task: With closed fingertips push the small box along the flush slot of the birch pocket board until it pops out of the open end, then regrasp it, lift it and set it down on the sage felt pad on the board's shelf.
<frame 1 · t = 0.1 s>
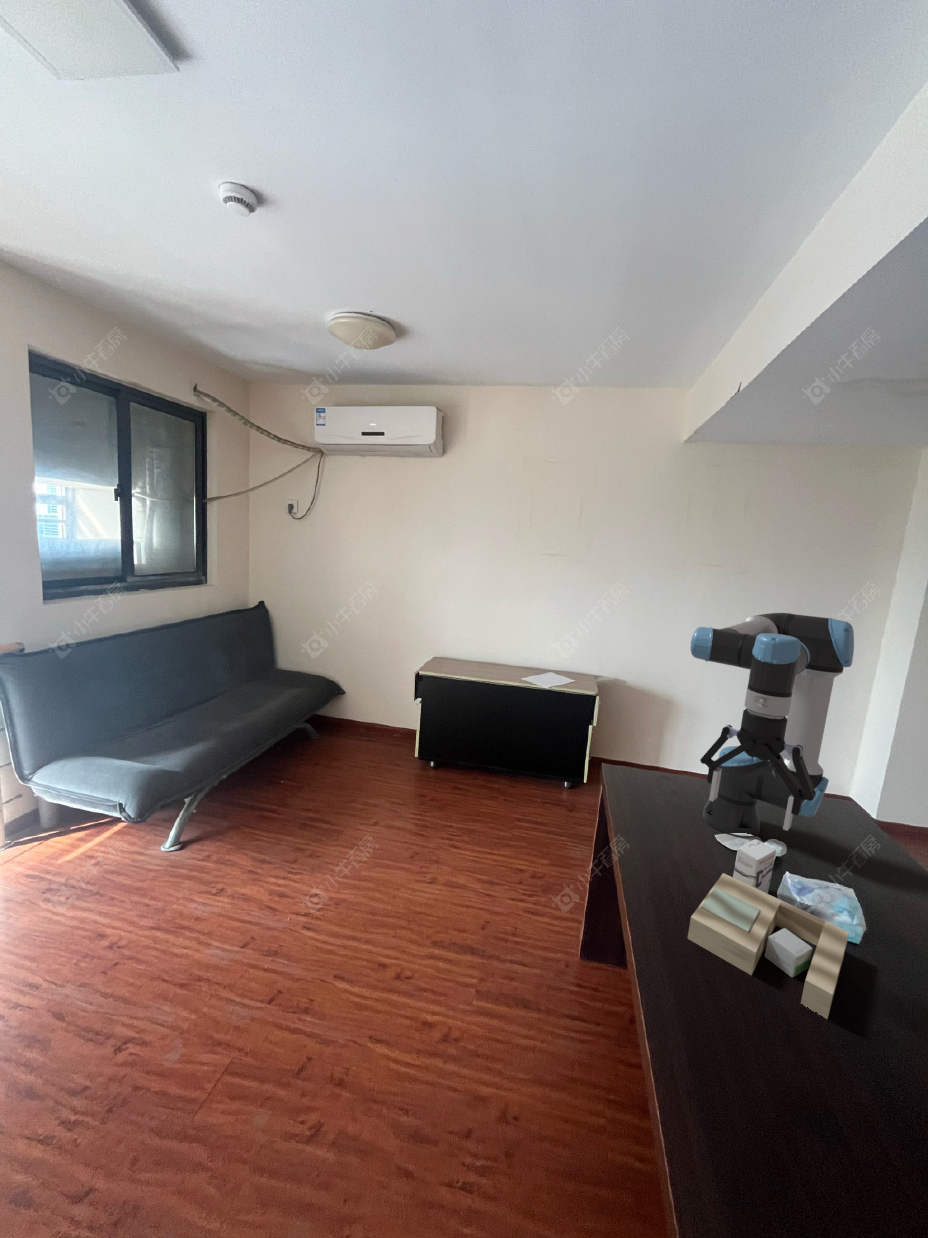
hand: (748, 812, 101), 28 cm above the table, fingers open, 13 cm apart
small box: (785, 963, 99), on the table
ink box: (748, 894, 119), on the table
pocket board: (764, 947, 103), on the table
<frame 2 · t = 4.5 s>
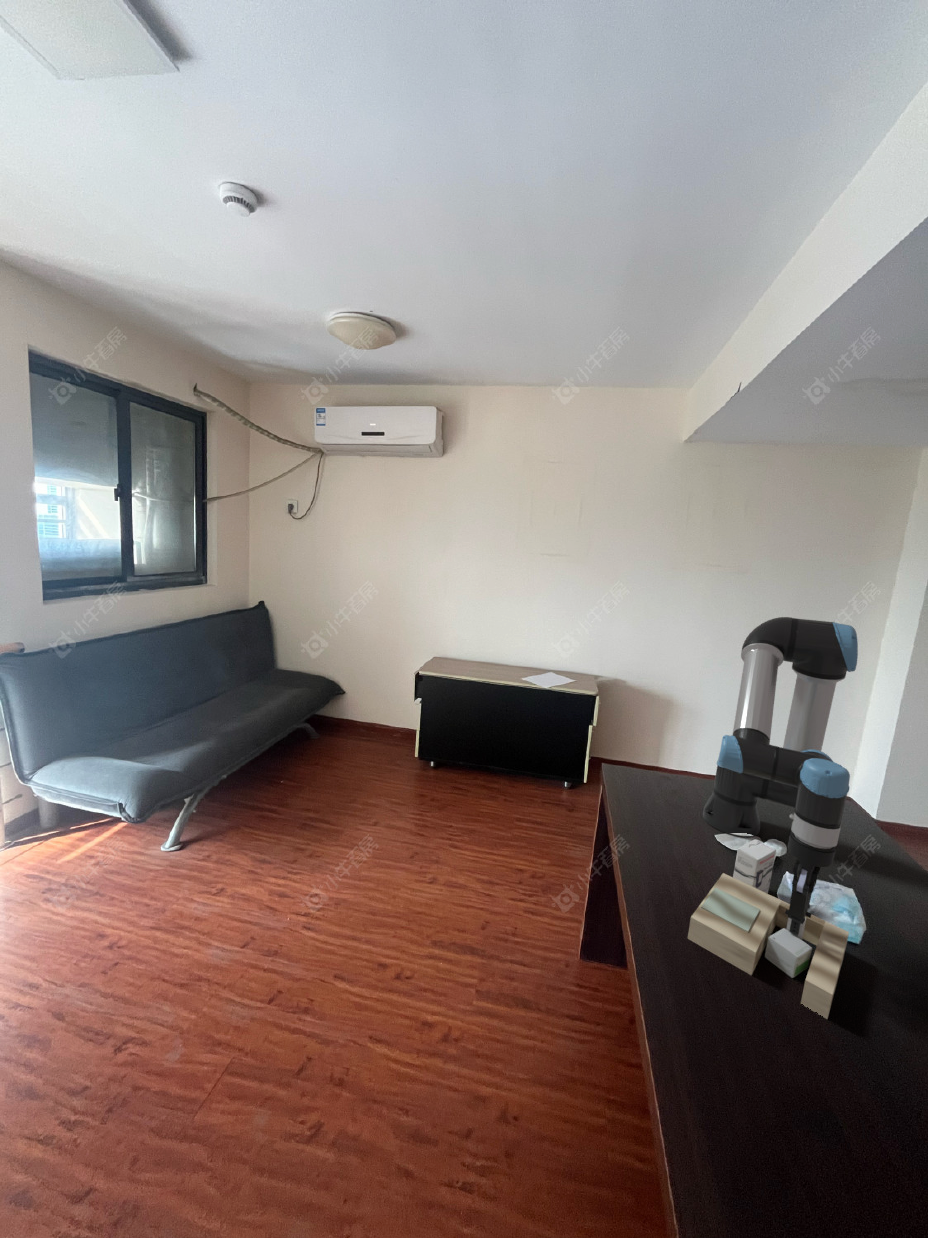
hand: (792, 944, 102), 2 cm above the table, fingers closed
small box: (785, 964, 99), on the table, touching gripper
everything else where it was.
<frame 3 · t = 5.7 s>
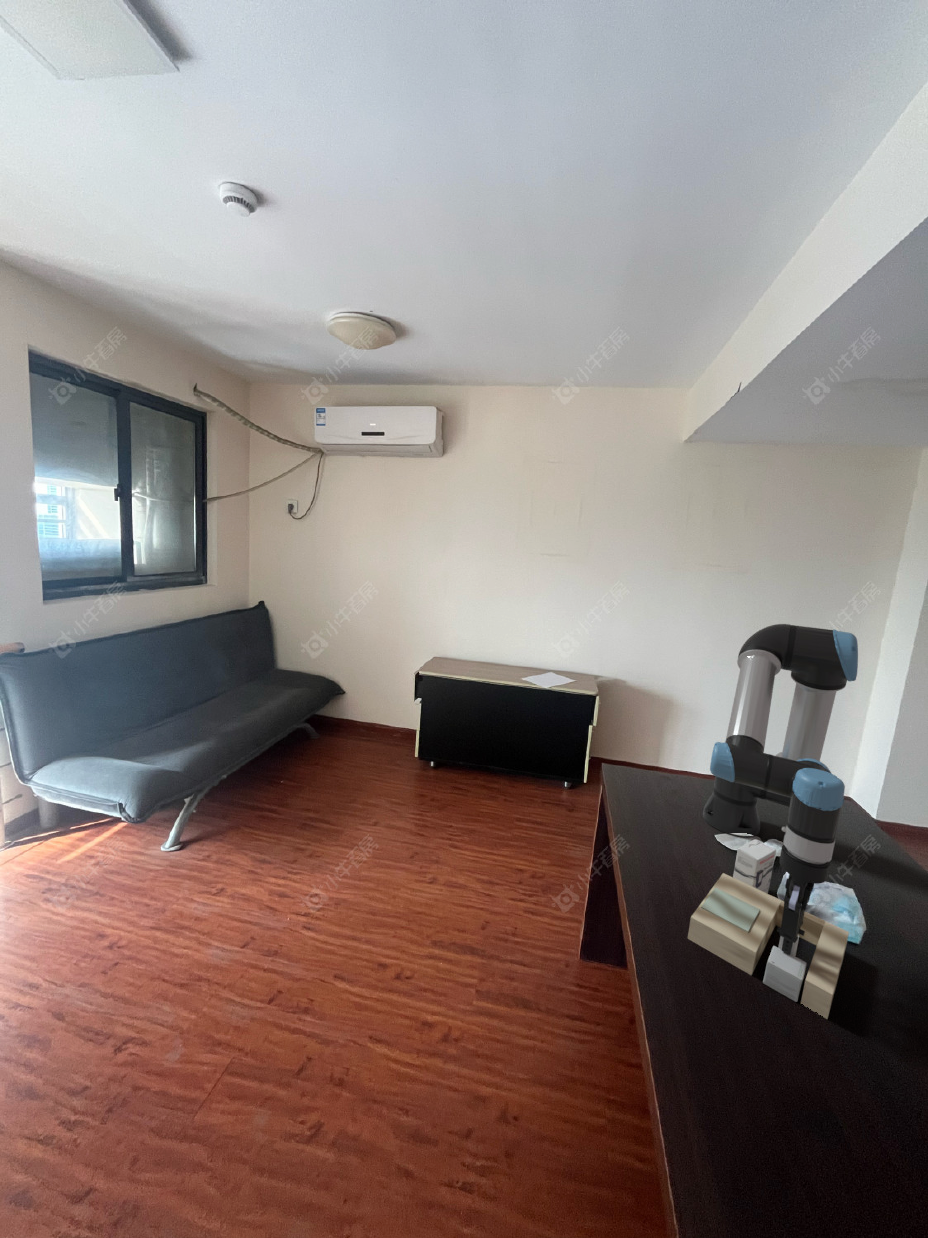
hand: (784, 963, 97), 2 cm above the table, fingers closed
small box: (782, 985, 94), on the table, touching gripper
everything else where it was.
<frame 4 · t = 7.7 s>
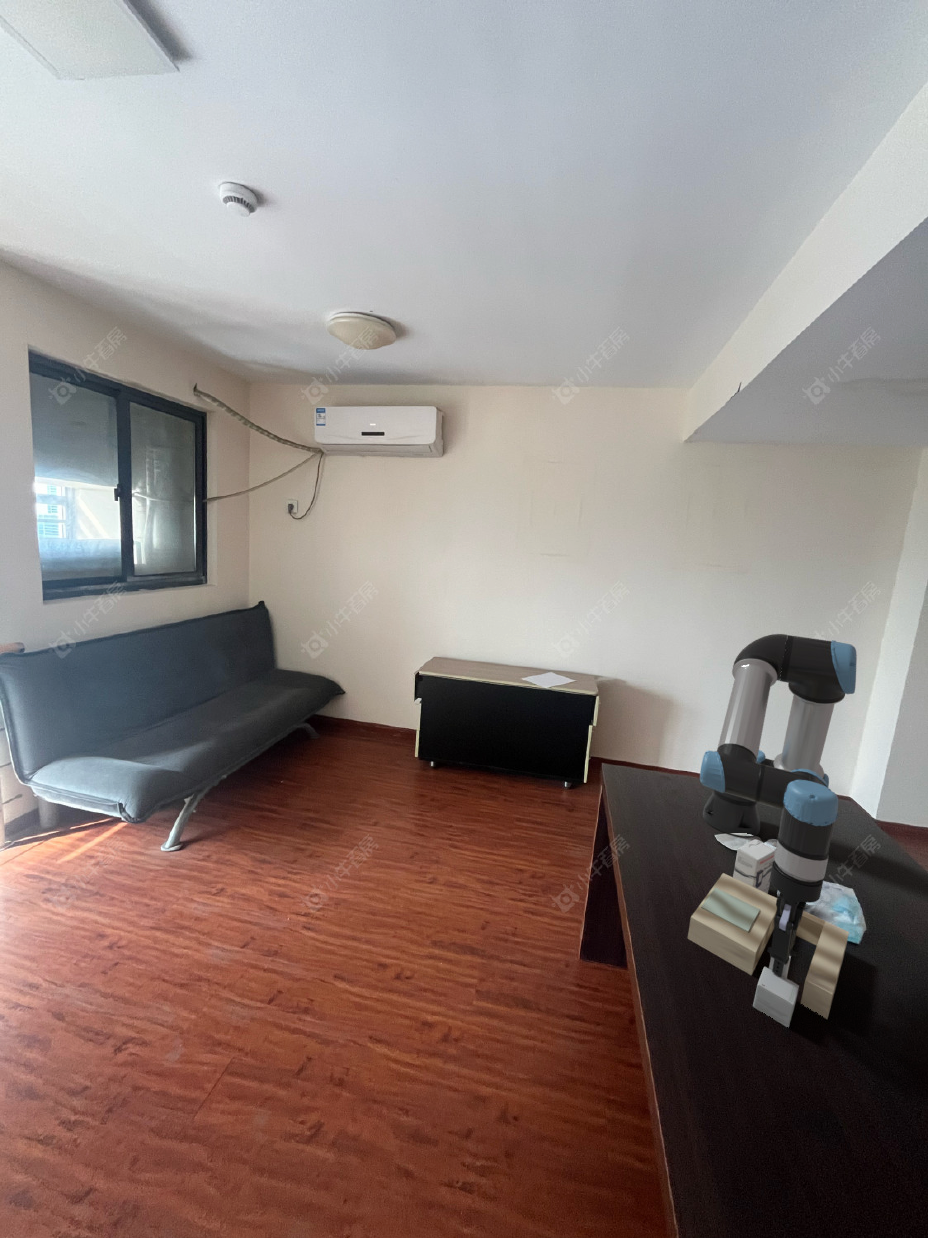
hand: (775, 985, 92), 2 cm above the table, fingers closed
small box: (773, 1009, 89), on the table, touching gripper
everything else where it was.
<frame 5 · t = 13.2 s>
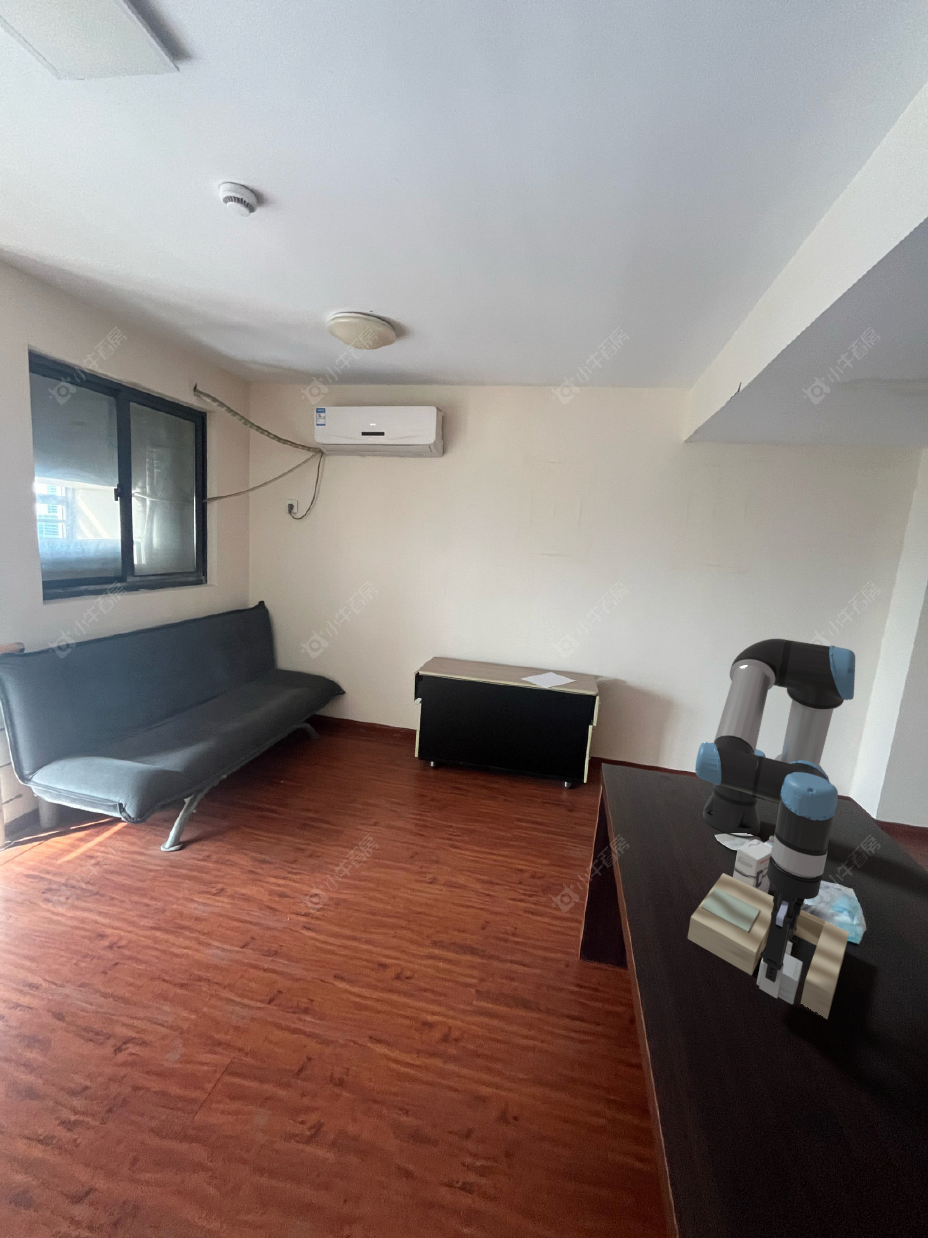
hand: (773, 980, 89), 5 cm above the table, fingers closed on small box, 6 cm apart
small box: (777, 986, 89), point 4 cm above the table, touching gripper
everything else where it was.
when the fingers open (6 cm above the table, at t = 15.9 s): small box stays where it is, resting on pocket board.
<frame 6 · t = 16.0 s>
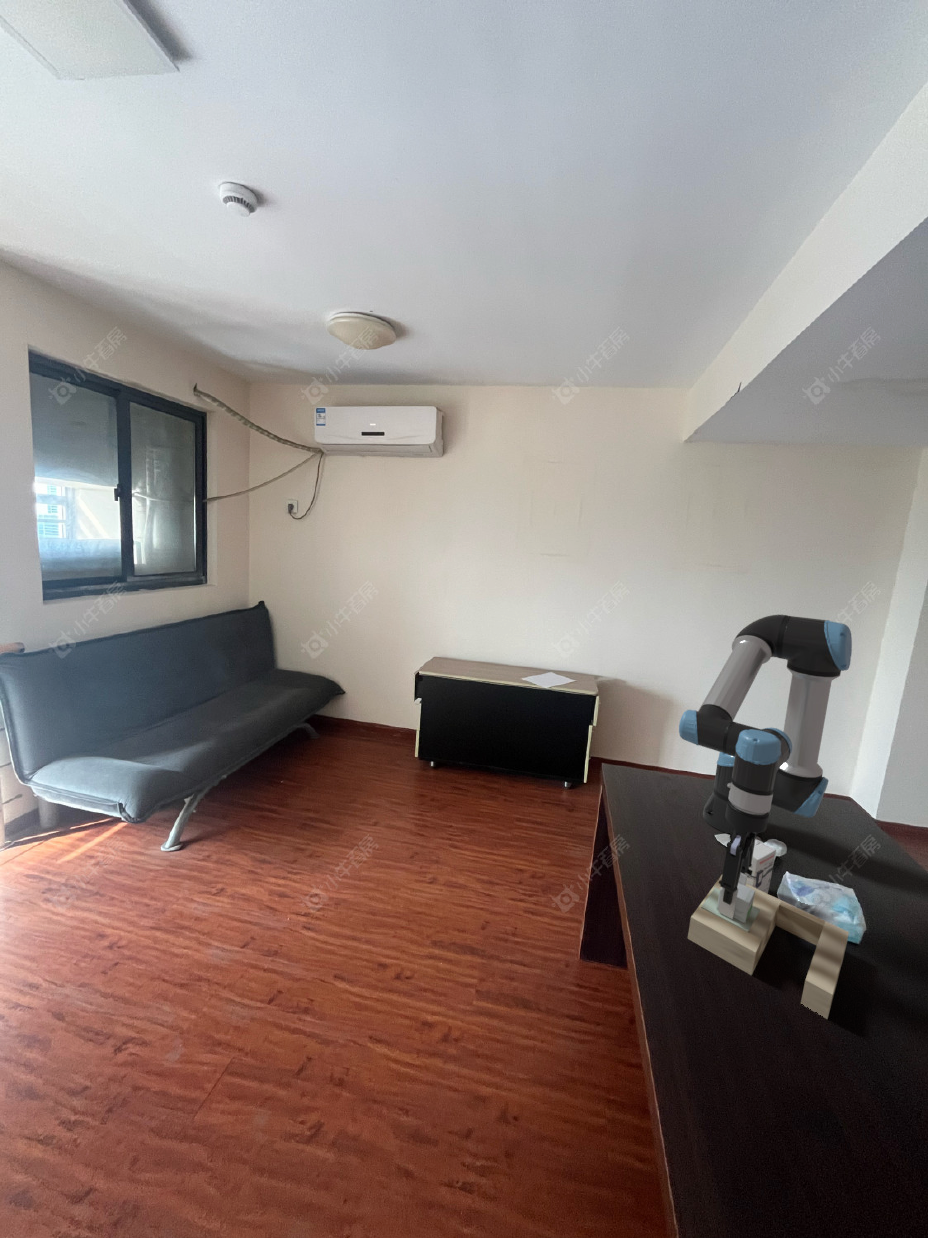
hand: (730, 907, 106), 6 cm above the table, fingers open, 6 cm apart
small box: (733, 911, 105), point 5 cm above the table, touching pocket board
everything else where it was.
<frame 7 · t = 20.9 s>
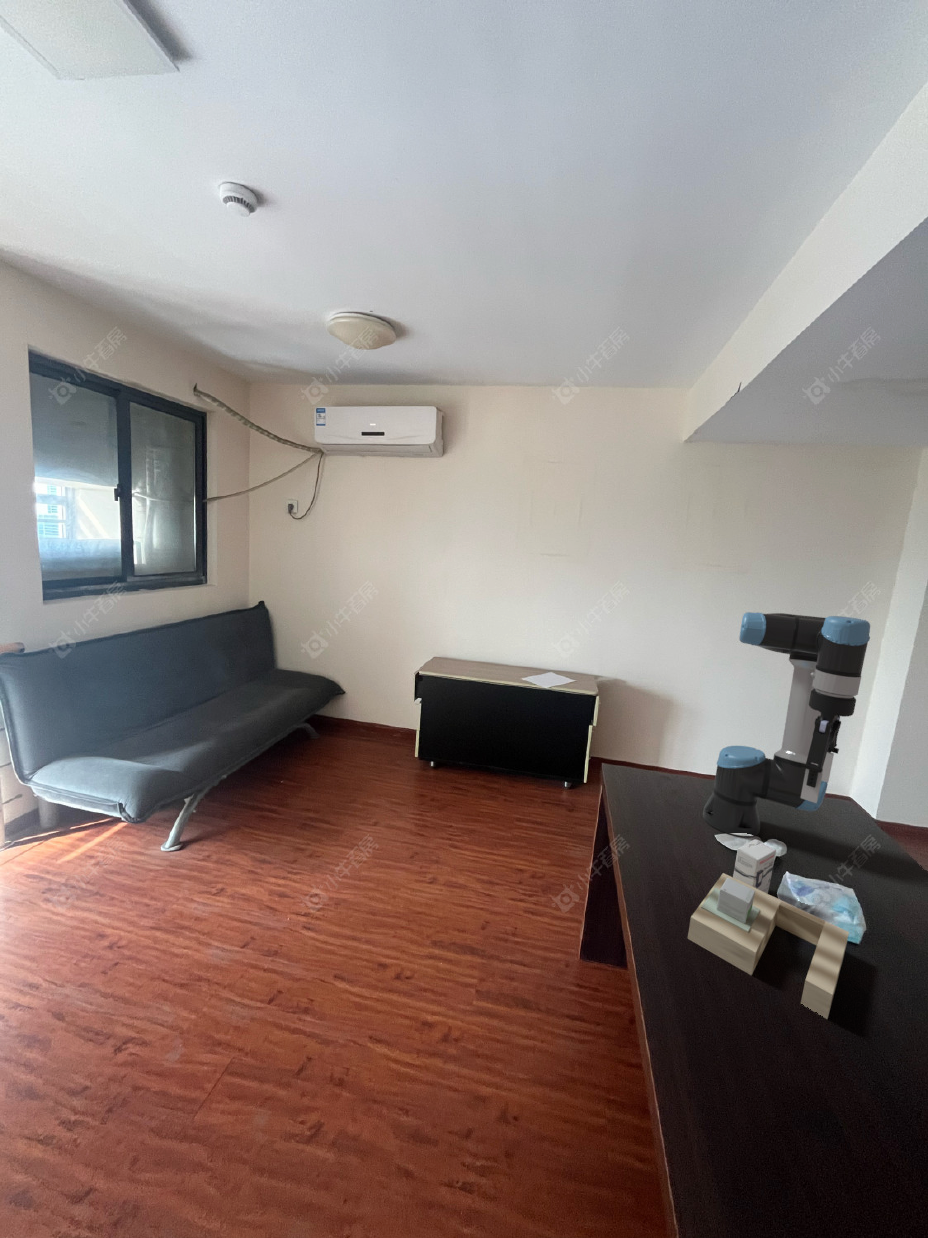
hand: (814, 789, 105), 32 cm above the table, fingers open, 13 cm apart
nothing on the table moved.
at the end: small box inside the target area on the pocket board (0.7 cm from its centre), point 5.1 cm above the pocket board's base; small box tilted 0°; the gripper is holding nothing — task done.
